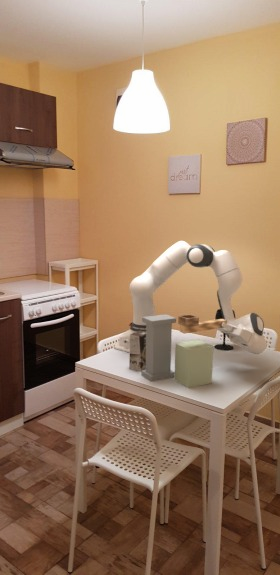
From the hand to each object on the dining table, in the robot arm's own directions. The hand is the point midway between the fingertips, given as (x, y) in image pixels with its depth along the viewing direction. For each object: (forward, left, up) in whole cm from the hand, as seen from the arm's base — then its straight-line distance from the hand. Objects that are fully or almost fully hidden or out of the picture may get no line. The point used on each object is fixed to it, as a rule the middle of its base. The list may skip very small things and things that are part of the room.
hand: (218, 322), depth 190 cm
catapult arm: (-4, -7, -2) cm, 8 cm away
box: (-7, -10, -24) cm, 27 cm away
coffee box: (-34, -6, -24) cm, 42 cm away
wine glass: (-10, +42, -24) cm, 50 cm away
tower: (-22, -12, -24) cm, 35 cm away
